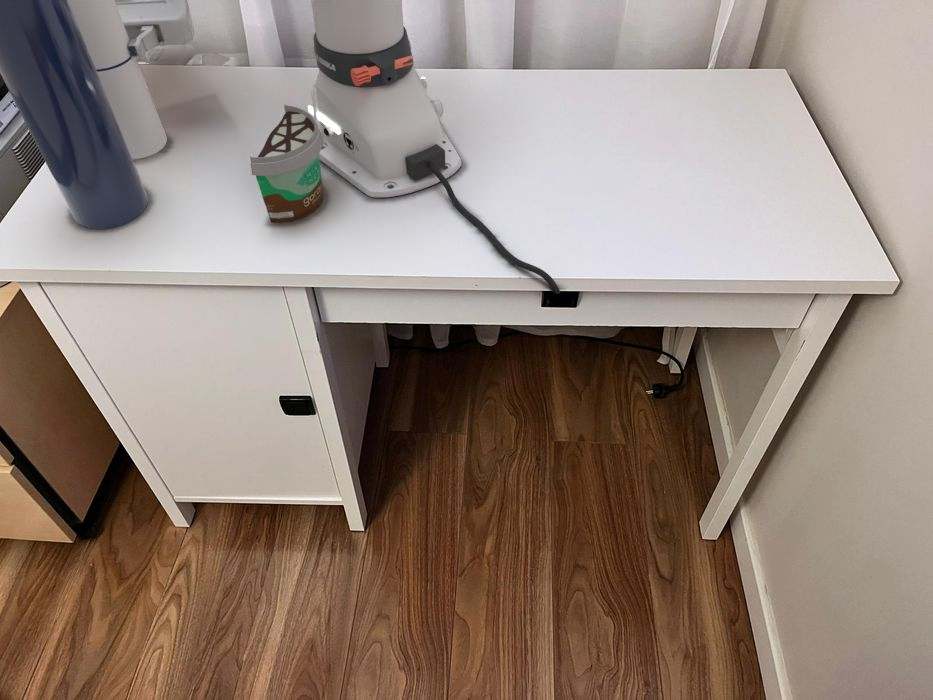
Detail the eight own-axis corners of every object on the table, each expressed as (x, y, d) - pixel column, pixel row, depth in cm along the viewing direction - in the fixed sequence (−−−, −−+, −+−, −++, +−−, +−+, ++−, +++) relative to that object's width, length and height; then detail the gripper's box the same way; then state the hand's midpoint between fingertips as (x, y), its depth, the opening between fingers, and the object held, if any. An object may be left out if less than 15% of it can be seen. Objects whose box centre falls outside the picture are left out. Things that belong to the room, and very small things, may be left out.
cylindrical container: (116, 164, 97) (26, -32, 78) (110, 136, 102) (24, -56, 83) (170, 151, 99) (95, -44, 80) (163, 124, 103) (90, -67, 84)
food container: (315, 235, 88) (300, 165, 81) (266, 230, 89) (248, 159, 81) (344, 176, 96) (334, 107, 89) (299, 171, 97) (285, 102, 89)
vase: (156, 213, 91) (25, -115, 64) (82, 238, 88) (-90, -96, 61) (137, 177, 96) (8, -142, 69) (66, 198, 93) (-99, -126, 66)
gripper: (30, -17, 95) (-1, 33, 86) (190, -24, 97) (176, 24, 88) (51, 31, 100) (23, 83, 91) (203, 23, 102) (191, 73, 93)
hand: (99, 54), depth 90 cm, fingers closed on cylindrical container, 7 cm apart
